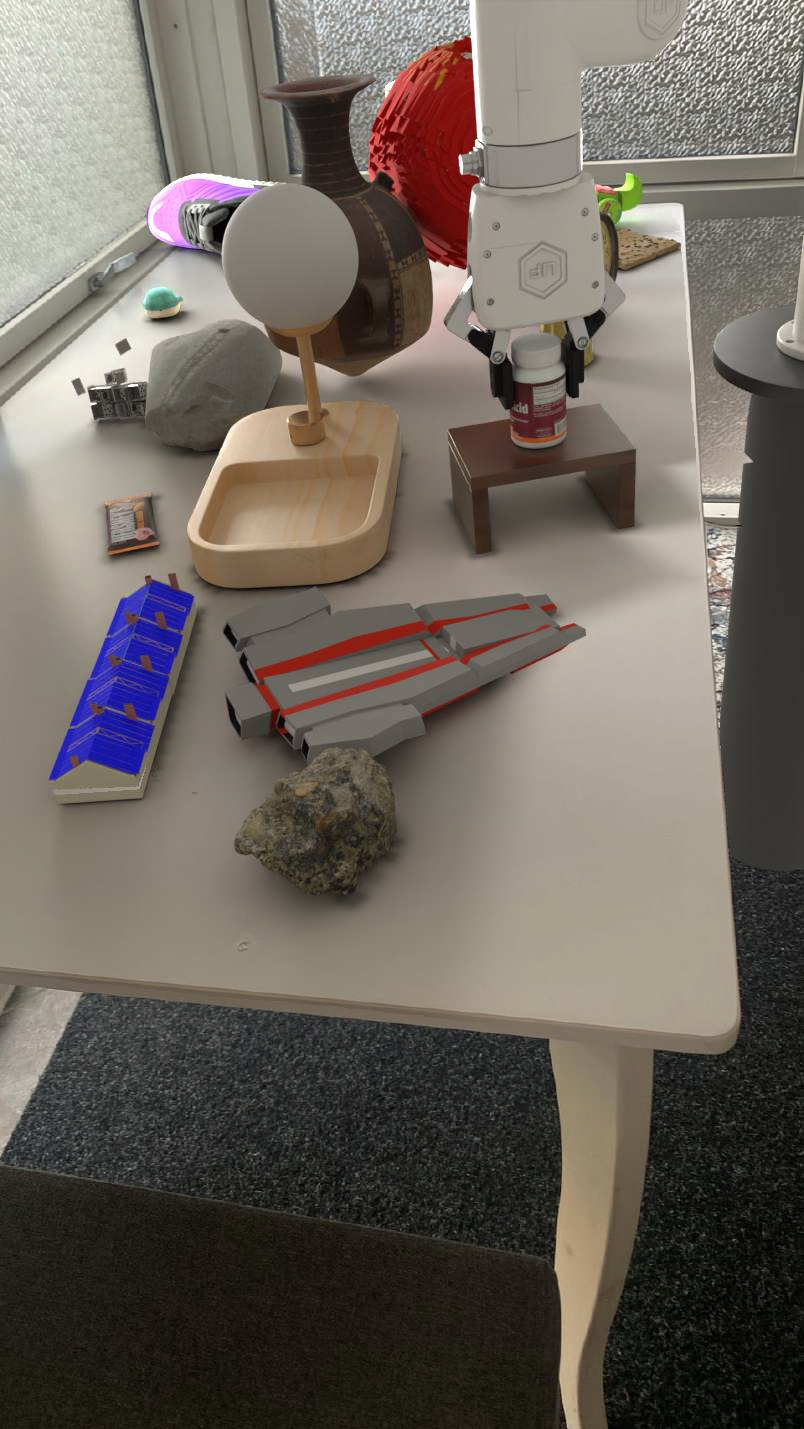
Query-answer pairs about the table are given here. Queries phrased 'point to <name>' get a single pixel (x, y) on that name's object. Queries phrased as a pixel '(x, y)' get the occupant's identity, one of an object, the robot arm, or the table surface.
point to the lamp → (296, 417)
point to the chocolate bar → (130, 524)
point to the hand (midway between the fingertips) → (537, 395)
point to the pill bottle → (538, 391)
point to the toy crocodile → (619, 197)
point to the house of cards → (116, 393)
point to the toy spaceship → (376, 664)
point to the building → (127, 695)
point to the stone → (209, 382)
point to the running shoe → (199, 209)
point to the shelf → (541, 466)
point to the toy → (431, 146)
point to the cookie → (641, 247)
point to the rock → (324, 822)
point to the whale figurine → (161, 303)
